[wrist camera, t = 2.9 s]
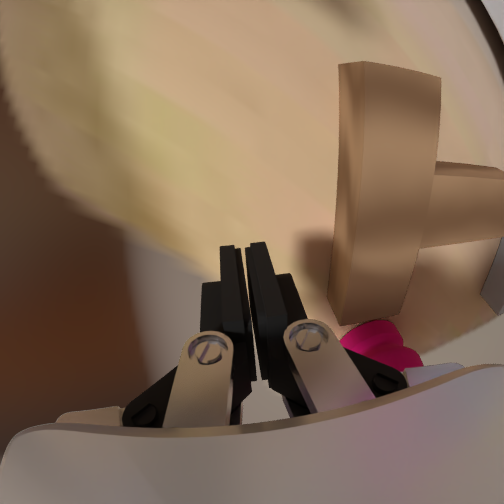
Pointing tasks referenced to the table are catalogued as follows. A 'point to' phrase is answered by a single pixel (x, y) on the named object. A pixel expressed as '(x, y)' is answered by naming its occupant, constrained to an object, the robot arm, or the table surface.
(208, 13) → the table surface
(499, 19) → the gum box
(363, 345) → the pepper mill
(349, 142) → the t block
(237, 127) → the table surface
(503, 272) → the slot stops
